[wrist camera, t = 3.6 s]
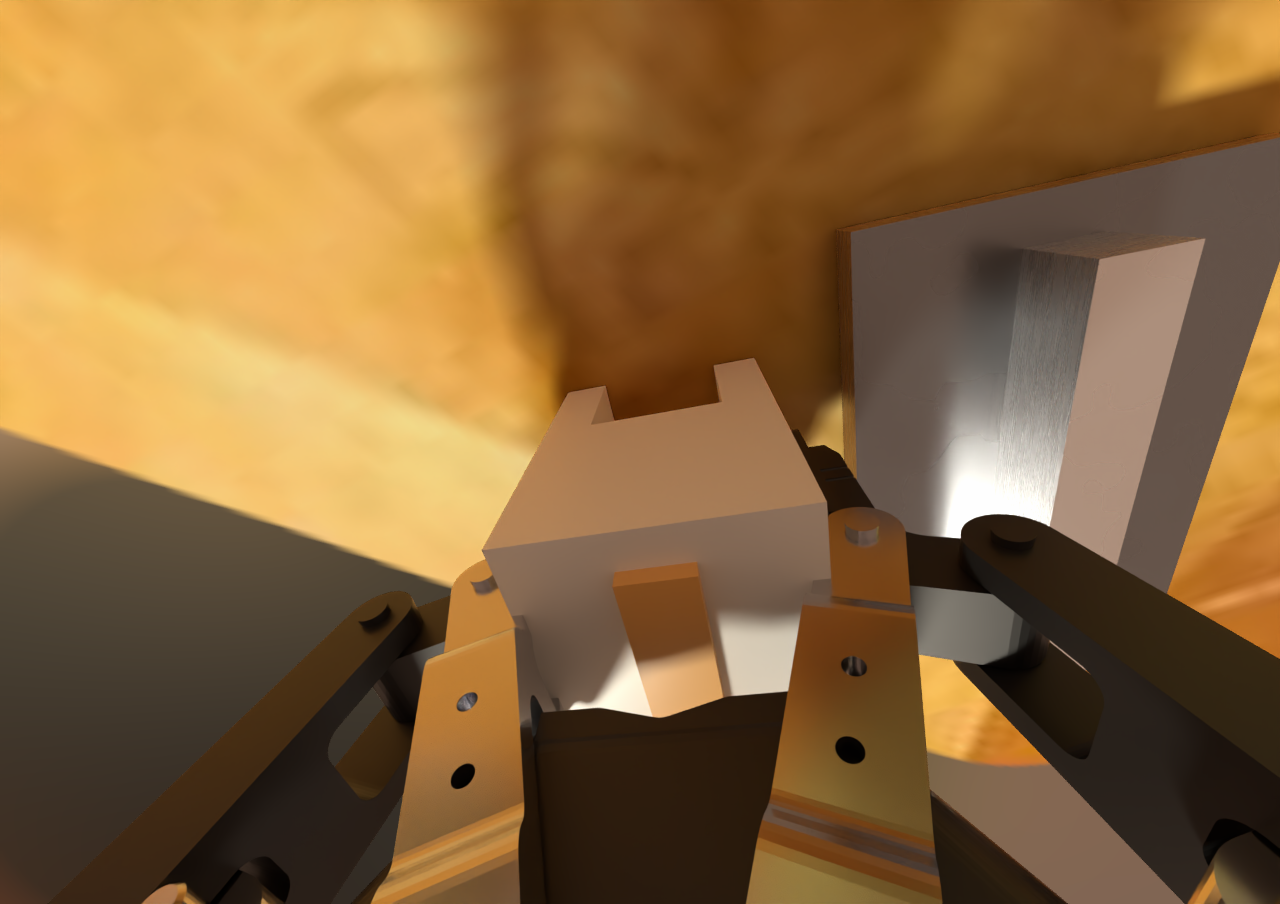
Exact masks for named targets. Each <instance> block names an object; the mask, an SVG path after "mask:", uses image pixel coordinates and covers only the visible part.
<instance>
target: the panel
mask: <svg viewBox="0 0 1280 904" xmlns="http://www.w3.org/2000/svg"><path fill="white" fill-rule="evenodd" d="M836 242H837V270H838V298H839V325H840V353H841V381H842V408H843V436H844V461H845V463H846V464H847V467H848V468H849V469H850V471H851V472H852V474H853V475H854V478H856V480H857V481H858V483H859V484H860V486H861V487H862V489H863V490H864V492H865V494H866V495H867V497H868V498H869V500H870V501H871V503H872V504H873V506H874V507H875V509H879V510H882V511H885V512H887V513H889V514H891V515H893V516H895V517H896V518H897V519H899V520H900V522H901V523H902V524H903V526H904V527H905V531H906V532H910V533H914V534H919V535H926V536H937V537H951V538H960V534H961V529H962V527H963V525H964V524H965V523H966V522H968V521H969V520H971V519H973V518H976V517H979V516H983V515H989V514H1009V515H1017V516H1022V517H1027V518H1030V519H1033V520H1036V521H1039V522H1041V523H1044V524H1046V525H1048V526H1050V527H1052V528H1053V529H1055V530H1057V531H1058V532H1060V533H1062V534H1064V535H1065V536H1067V537H1069V538H1071V539H1072V540H1074V541H1076V542H1078V543H1079V544H1081V545H1083V546H1084V547H1086V548H1088V549H1090V550H1091V551H1093V552H1095V553H1097V554H1098V555H1100V556H1102V557H1104V558H1105V559H1107V560H1109V561H1110V562H1112V563H1114V564H1116V565H1117V566H1119V567H1121V568H1123V569H1124V570H1126V571H1128V572H1130V573H1131V574H1133V575H1135V576H1136V577H1138V578H1140V579H1142V580H1143V581H1145V582H1147V583H1149V584H1150V585H1152V586H1154V587H1156V588H1157V589H1159V590H1161V591H1162V592H1164V593H1166V594H1167V591H1168V588H1169V585H1170V582H1171V580H1172V577H1173V574H1174V571H1175V568H1176V565H1177V562H1178V559H1179V556H1180V553H1181V550H1182V547H1183V544H1184V541H1185V538H1186V535H1187V532H1188V529H1189V527H1190V524H1191V521H1192V518H1193V515H1194V512H1195V509H1196V506H1197V503H1198V500H1199V497H1200V494H1201V491H1202V488H1203V485H1204V482H1205V479H1206V476H1207V474H1208V471H1209V468H1210V465H1211V462H1212V459H1213V456H1214V453H1215V450H1216V447H1217V444H1218V441H1219V438H1220V435H1221V432H1222V429H1223V426H1224V424H1225V421H1226V418H1227V415H1228V412H1229V409H1230V406H1231V403H1232V400H1233V397H1234V394H1235V391H1236V388H1237V385H1238V382H1239V379H1240V376H1241V373H1242V371H1243V368H1244V365H1245V362H1246V359H1247V356H1248V353H1249V350H1250V347H1251V344H1252V341H1253V338H1254V335H1255V332H1256V329H1257V326H1258V323H1259V321H1260V318H1261V315H1262V312H1263V309H1264V306H1265V303H1266V300H1267V297H1268V294H1269V291H1270V288H1271V285H1272V282H1273V279H1274V276H1275V273H1276V270H1277V268H1278V265H1279V262H1280V133H1271V134H1263V135H1258V136H1254V137H1249V138H1245V139H1240V140H1236V141H1231V142H1227V143H1222V144H1218V145H1213V146H1209V147H1205V148H1200V149H1196V150H1191V151H1187V152H1182V153H1178V154H1173V155H1169V156H1164V157H1160V158H1155V159H1151V160H1146V161H1142V162H1137V163H1133V164H1128V165H1124V166H1119V167H1115V168H1110V169H1106V170H1101V171H1097V172H1092V173H1088V174H1083V175H1079V176H1074V177H1070V178H1065V179H1061V180H1056V181H1052V182H1047V183H1043V184H1038V185H1034V186H1029V187H1025V188H1020V189H1016V190H1011V191H1007V192H1002V193H998V194H993V195H989V196H984V197H980V198H975V199H971V200H966V201H962V202H957V203H953V204H948V205H944V206H939V207H935V208H930V209H926V210H921V211H917V212H912V213H908V214H903V215H899V216H894V217H890V218H886V219H881V220H877V221H872V222H868V223H863V224H859V225H854V226H850V227H845V228H841V229H836ZM1050 642H1051V641H1050ZM1051 643H1052V644H1053V645H1054V646H1056V645H1055V644H1054V643H1053V642H1051ZM1056 647H1057V648H1058V649H1059V650H1061V649H1060V648H1059V647H1058V646H1056ZM1061 651H1062V652H1063V653H1064V654H1066V653H1065V652H1064V651H1063V650H1061ZM1066 655H1067V656H1068V657H1069V658H1071V657H1070V656H1069V655H1068V654H1066ZM1071 659H1072V660H1073V661H1074V662H1076V661H1075V660H1074V659H1073V658H1071ZM1076 663H1077V664H1078V665H1079V666H1081V665H1080V664H1079V663H1078V662H1076ZM1081 667H1082V668H1083V669H1084V670H1086V669H1085V668H1084V667H1083V666H1081Z"/></svg>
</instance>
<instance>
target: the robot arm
mask: <svg viewBox="0 0 1280 904" xmlns="http://www.w3.org/2000/svg"><path fill="white" fill-rule="evenodd" d="M791 432H792V434H793V436H794V438H795V440H796V442H797V444H798V446H799V447H800V449H801V451H802V453H803V455H804V457H805V459H806V461H807V463H808V465H809V467H810V469H811V471H812V473H813V475H814V477H815V479H816V481H817V483H818V485H819V487H820V489H821V491H822V493H823V495H824V497H825V499H826V501H827V511H828V529H829V548H830V566H831V579H822V580H814V581H813V584H812V591H811V593H805V595H804V599H803V604H802V610H801V616H800V622H799V628H798V634H797V640H796V646H795V652H794V658H793V664H792V670H791V676H790V682H789V688H788V691H784V692H773V693H761V694H750V695H738V696H727V697H724V698H721V699H718V700H715V701H712V702H709V703H706V704H703V705H700V706H697V707H694V708H691V709H688V710H685V711H682V712H679V713H676V714H673V715H670V716H666V717H660V718H658V717H651V716H645V715H639V714H634V713H628V712H622V711H617V710H611V709H605V708H600V707H599V708H587V709H576V710H564V709H563V707H562V704H561V702H560V700H559V698H550V695H549V693H548V691H547V689H546V686H545V684H544V682H543V680H542V677H541V675H540V673H539V670H538V667H537V663H536V660H535V656H534V651H533V643H532V635H531V633H530V630H529V628H528V626H527V623H526V621H525V619H524V616H523V615H518V616H511V615H510V612H509V610H508V608H507V606H506V603H505V601H504V599H503V597H502V594H501V592H500V590H499V588H498V585H497V583H496V581H495V579H494V576H493V574H492V572H491V570H490V567H489V565H488V563H487V561H486V559H485V560H483V561H480V562H478V563H476V564H474V565H473V566H471V567H469V568H468V569H467V570H465V571H464V572H463V573H462V574H461V575H460V576H459V577H458V578H457V579H456V581H455V582H454V584H453V586H452V590H451V595H450V596H448V597H445V598H442V599H440V600H437V601H434V602H431V603H428V604H425V605H423V606H420V607H416V605H415V603H414V601H413V599H412V598H411V596H410V595H409V594H408V593H406V592H402V591H394V592H389V593H385V594H382V595H379V596H377V597H375V598H373V599H371V600H369V601H367V602H366V603H364V604H362V605H361V606H360V607H358V608H357V609H356V610H355V611H353V612H352V613H351V614H350V615H349V616H348V617H347V618H346V619H345V620H344V621H343V622H342V623H341V624H339V626H337V627H336V628H335V629H334V630H333V631H332V632H331V633H330V634H329V635H328V636H327V637H326V638H325V639H324V640H323V641H322V642H321V643H320V644H319V645H318V646H317V647H316V648H315V649H313V650H312V651H311V652H310V653H309V654H308V655H307V656H306V657H305V658H304V659H303V660H302V661H301V662H300V663H299V664H298V665H297V666H296V667H295V668H294V669H293V670H291V672H289V673H288V675H286V676H285V677H284V678H283V679H282V680H281V681H280V682H279V683H278V684H277V685H276V686H275V687H274V688H273V689H272V690H271V691H270V692H268V693H267V694H266V695H265V697H263V699H261V700H260V701H259V702H258V703H257V704H256V705H255V706H254V707H253V708H252V709H251V710H250V711H249V712H248V713H247V714H245V715H244V716H243V717H242V718H241V719H240V720H239V721H238V722H237V723H236V724H235V725H234V726H233V727H232V728H231V729H230V730H229V731H228V732H227V733H226V734H225V735H224V736H222V737H221V738H220V739H219V740H218V741H217V742H216V743H215V744H214V745H213V746H212V747H211V748H210V749H209V750H208V751H207V752H206V753H205V754H204V755H203V756H202V757H201V758H200V759H199V760H198V761H196V762H195V763H194V764H193V765H192V766H191V767H190V768H189V769H188V770H187V771H186V772H185V773H184V774H183V775H182V776H181V777H180V778H179V779H178V780H177V781H176V782H174V783H173V784H172V785H171V786H170V787H169V788H168V789H167V790H166V791H165V792H164V793H163V794H162V795H161V796H160V797H159V798H158V799H157V800H156V801H155V802H154V803H153V804H152V805H150V806H149V808H147V809H146V810H145V811H144V812H143V813H142V814H141V815H140V816H139V817H138V818H137V819H136V820H135V821H134V822H133V823H132V824H131V825H130V826H129V827H128V828H126V829H125V830H124V831H123V832H122V833H121V834H120V835H119V836H118V837H117V838H116V839H115V840H114V841H113V842H112V843H111V844H110V845H109V846H108V847H107V848H105V849H104V850H103V851H102V852H101V853H100V854H99V855H98V856H97V857H96V858H95V859H94V860H93V861H92V862H91V863H90V864H89V865H88V866H87V867H86V868H85V869H84V870H82V871H81V872H80V873H79V874H78V875H77V876H76V877H75V878H74V879H73V880H72V881H71V882H70V883H69V884H68V885H67V886H66V887H65V888H64V889H63V890H62V891H61V892H60V893H59V894H57V895H56V896H55V897H54V898H53V899H52V900H51V901H50V902H49V903H48V904H331V902H332V901H333V899H334V897H335V896H336V895H337V893H338V892H339V890H340V889H341V887H342V886H343V884H344V882H345V881H346V879H347V878H348V876H349V875H350V873H351V872H352V870H353V869H354V867H355V866H356V864H357V863H358V861H359V860H360V858H361V857H362V855H363V854H364V852H365V851H366V849H367V848H368V846H369V845H370V843H371V842H372V840H373V838H374V837H375V836H376V834H377V833H378V831H379V830H380V828H381V827H382V825H383V824H384V822H385V821H386V819H387V818H388V816H389V814H390V813H391V811H392V810H393V808H394V807H395V805H396V804H397V802H398V801H399V799H400V798H401V796H402V795H403V800H402V807H401V813H400V819H399V825H398V831H397V838H396V843H395V849H394V855H393V860H392V861H391V862H390V863H389V864H388V865H387V866H386V867H385V868H384V869H383V870H382V871H381V872H380V873H379V874H378V876H377V877H376V878H375V879H374V880H373V881H372V882H371V883H370V884H369V885H368V886H367V887H366V888H365V889H364V890H363V891H362V892H361V893H360V894H359V896H358V897H357V898H356V899H355V900H354V901H353V902H352V903H351V904H1068V903H1066V902H1065V901H1064V900H1063V899H1062V898H1060V897H1059V896H1058V895H1057V894H1056V893H1054V892H1053V891H1052V890H1051V889H1050V888H1048V887H1047V886H1046V885H1045V884H1044V883H1042V882H1041V881H1040V880H1039V879H1038V878H1036V877H1035V876H1034V875H1033V874H1032V873H1030V872H1029V871H1028V870H1027V869H1026V868H1024V867H1023V866H1022V865H1021V864H1019V863H1018V862H1017V861H1016V860H1015V859H1013V858H1012V857H1011V856H1010V855H1009V854H1007V853H1006V852H1005V851H1004V850H1003V849H1001V848H1000V847H999V846H998V845H997V844H995V843H994V842H993V841H992V840H991V839H989V838H988V837H987V836H986V835H985V834H983V833H982V832H981V831H980V830H978V829H977V828H976V827H975V826H974V825H972V824H971V823H970V822H969V821H968V820H966V819H965V818H964V817H963V816H962V815H960V814H959V813H958V812H957V811H956V810H954V809H953V808H952V807H951V806H950V805H948V804H947V803H946V802H945V801H943V800H942V799H941V798H940V797H939V796H938V795H936V794H935V793H934V792H933V791H931V790H930V787H929V775H928V764H927V751H926V738H925V726H924V714H923V702H922V690H921V677H920V665H919V655H925V656H932V657H938V658H944V659H950V660H953V661H954V663H955V664H956V666H957V667H958V668H959V669H960V670H961V671H962V672H963V674H964V675H965V676H966V677H967V678H968V679H969V680H970V681H971V682H972V683H973V684H974V685H975V686H976V687H977V688H978V689H979V690H980V691H981V692H982V693H983V694H984V695H985V696H986V697H987V699H988V700H989V701H990V702H991V703H992V704H993V705H994V706H995V707H996V708H997V709H998V710H999V711H1000V712H1001V713H1002V714H1003V715H1004V716H1005V717H1006V718H1007V719H1008V720H1009V721H1010V722H1011V723H1012V725H1013V726H1014V727H1015V728H1016V729H1017V730H1018V731H1019V732H1020V733H1021V734H1022V735H1023V736H1024V737H1025V738H1026V739H1027V740H1028V741H1029V742H1030V743H1031V744H1032V745H1033V746H1034V747H1035V748H1036V750H1037V751H1038V752H1039V753H1040V754H1041V755H1042V756H1043V757H1044V758H1045V759H1046V760H1047V761H1048V762H1049V763H1050V764H1051V765H1052V766H1053V767H1054V768H1055V769H1056V770H1057V771H1058V772H1059V773H1060V775H1062V776H1063V778H1064V779H1065V780H1067V782H1068V783H1069V784H1070V785H1071V786H1072V787H1073V788H1074V789H1075V790H1076V791H1077V792H1078V793H1079V794H1080V795H1081V796H1082V797H1083V798H1084V799H1085V800H1086V801H1087V803H1089V805H1090V806H1091V807H1092V808H1093V809H1094V810H1095V811H1096V812H1097V813H1098V814H1099V815H1100V816H1101V817H1102V818H1103V819H1104V820H1105V821H1106V822H1107V823H1108V824H1109V826H1111V828H1112V829H1113V830H1114V831H1115V832H1116V833H1117V834H1118V835H1119V836H1120V837H1121V838H1122V839H1123V840H1124V841H1125V842H1126V843H1127V844H1128V845H1129V846H1130V847H1131V848H1132V849H1133V850H1134V852H1135V853H1136V854H1137V855H1138V856H1139V857H1141V859H1142V860H1143V861H1144V862H1145V863H1146V864H1147V865H1148V866H1149V867H1150V868H1151V869H1152V870H1153V871H1154V872H1155V873H1156V874H1157V875H1158V877H1160V879H1161V880H1162V881H1163V882H1164V883H1165V884H1166V885H1167V886H1168V887H1169V888H1170V889H1171V890H1172V891H1173V892H1174V893H1175V894H1176V895H1177V896H1178V897H1179V898H1180V899H1181V900H1182V901H1183V903H1184V904H1280V659H1279V658H1277V657H1275V656H1273V655H1272V654H1270V653H1268V652H1267V651H1265V650H1263V649H1261V648H1260V647H1258V646H1256V645H1254V644H1253V643H1251V642H1249V641H1247V640H1246V639H1244V638H1242V637H1241V636H1239V635H1237V634H1235V633H1234V632H1232V631H1230V630H1228V629H1227V628H1225V627H1223V626H1221V625H1220V624H1218V623H1216V622H1215V621H1213V620H1211V619H1209V618H1208V617H1206V616H1204V615H1202V614H1201V613H1199V612H1197V611H1195V610H1194V609H1192V608H1190V607H1189V606H1187V605H1185V604H1183V603H1182V602H1180V601H1178V600H1176V599H1175V598H1173V597H1171V596H1169V595H1168V594H1166V593H1164V592H1162V591H1161V590H1159V589H1157V588H1156V587H1154V586H1152V585H1150V584H1149V583H1147V582H1145V581H1143V580H1142V579H1140V578H1138V577H1136V576H1135V575H1133V574H1131V573H1130V572H1128V571H1126V570H1124V569H1123V568H1121V567H1119V566H1117V565H1116V564H1114V563H1112V562H1110V561H1109V560H1107V559H1105V558H1104V557H1102V556H1100V555H1098V554H1097V553H1095V552H1093V551H1091V550H1090V549H1088V548H1086V547H1084V546H1083V545H1081V544H1079V543H1078V542H1076V541H1074V540H1072V539H1071V538H1069V537H1067V536H1065V535H1064V534H1062V533H1060V532H1058V531H1057V530H1055V529H1053V528H1052V527H1050V526H1048V525H1046V524H1044V523H1041V522H1039V521H1036V520H1033V519H1030V518H1027V517H1022V516H1017V515H1009V514H989V515H983V516H979V517H976V518H973V519H971V520H969V521H968V522H966V523H965V524H964V525H963V527H962V529H961V534H960V538H951V537H937V536H926V535H919V534H914V533H910V532H906V531H905V527H904V526H903V524H902V523H901V522H900V520H899V519H897V518H896V517H895V516H893V515H891V514H889V513H887V512H885V511H882V510H879V509H875V507H874V506H873V504H872V503H871V501H870V500H869V498H868V497H867V495H866V494H865V492H864V490H863V489H862V487H861V486H860V484H859V483H858V481H857V480H856V478H854V475H853V474H852V472H851V471H850V469H849V468H848V467H847V464H846V463H845V461H844V460H843V458H842V457H841V455H840V454H839V453H837V452H836V451H834V450H832V449H830V448H828V447H827V446H825V445H821V446H815V447H809V448H808V447H807V445H806V443H805V441H804V439H803V437H802V435H801V434H800V432H799V430H798V429H796V430H791ZM1050 641H1051V642H1053V643H1054V644H1055V645H1056V646H1058V647H1059V648H1060V649H1061V650H1063V651H1064V652H1065V653H1066V654H1068V655H1069V656H1070V657H1071V658H1073V659H1074V660H1075V661H1076V662H1078V663H1079V664H1080V665H1081V666H1083V667H1084V668H1085V669H1086V670H1087V671H1088V672H1089V673H1090V674H1091V675H1090V674H1089V673H1088V672H1087V671H1086V670H1084V669H1083V668H1082V667H1081V666H1079V665H1078V664H1077V663H1076V662H1074V661H1073V660H1072V659H1071V658H1069V657H1068V656H1067V655H1066V654H1064V653H1063V652H1062V651H1061V650H1059V649H1058V648H1057V647H1056V646H1054V645H1053V644H1052V643H1051V642H1050ZM372 687H373V689H374V690H375V691H376V693H377V694H378V696H379V697H380V699H381V700H382V702H383V703H384V705H385V706H384V707H383V708H382V709H381V711H380V712H379V713H378V714H377V715H376V717H375V718H374V719H373V721H372V722H371V723H370V724H369V725H368V727H367V728H366V729H365V730H364V732H363V733H362V734H361V735H360V737H359V738H358V739H357V741H356V742H355V743H354V744H353V745H352V747H351V748H350V749H349V750H348V752H347V753H346V754H345V755H344V756H343V758H342V759H341V760H340V761H339V763H338V764H337V765H336V766H335V767H334V766H333V765H332V763H331V762H330V761H329V758H328V746H329V742H330V739H331V737H332V735H333V734H334V732H335V730H336V729H337V728H338V727H339V725H340V724H341V723H342V722H343V721H344V719H345V718H346V717H347V716H348V715H349V714H350V713H351V711H352V710H353V709H354V708H355V707H356V706H357V704H358V703H359V702H360V701H361V700H362V699H363V697H364V696H365V695H366V694H367V693H368V691H369V690H370V689H371V688H372ZM403 793H404V794H403Z"/></svg>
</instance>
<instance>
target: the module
mask: <svg viewBox="0 0 1280 904" xmlns="http://www.w3.org/2000/svg"><path fill="white" fill-rule="evenodd" d="M714 371H715V378H716V384H717V391H718V397H719V403H714V404H708V405H702V406H697V407H691V408H685V409H679V410H674V411H668V412H662V413H657V414H651V415H645V416H639V417H634V418H628V419H622V420H617V421H614V417H613V413H612V409H611V406H610V402H609V398H608V394H607V390H606V386H600V387H595V388H590V389H584V390H579V391H574V392H568V394H567V396H566V398H565V400H564V401H563V403H562V405H561V407H560V409H559V411H558V412H557V414H556V416H555V418H554V420H553V421H552V423H551V425H550V427H549V429H548V431H547V432H546V434H545V436H544V438H543V440H542V442H541V443H540V445H539V447H538V449H537V451H536V452H535V454H534V456H533V458H532V460H531V462H530V463H529V465H528V467H527V469H526V471H525V473H524V474H523V476H522V478H521V480H520V482H519V483H518V485H517V487H516V489H515V491H514V493H513V494H512V496H511V498H510V500H509V502H508V504H507V505H506V507H505V509H504V511H503V513H502V514H501V516H500V518H499V520H498V522H497V524H496V525H495V527H494V529H493V531H492V533H491V535H490V536H489V538H488V540H487V542H486V544H485V545H484V547H483V549H482V552H483V554H484V556H485V558H486V561H487V563H488V565H489V567H490V570H491V572H492V574H493V576H494V579H495V581H496V583H497V585H498V588H499V590H500V592H501V594H502V597H503V599H504V601H505V603H506V606H507V608H508V610H509V612H510V615H511V616H518V615H523V616H524V619H525V621H526V623H527V626H528V628H529V630H530V633H531V635H532V643H533V651H534V656H535V660H536V663H537V667H538V670H539V673H540V675H541V677H542V680H543V682H544V684H545V686H546V689H547V691H548V693H549V695H550V698H559V700H560V702H561V704H562V707H563V709H564V710H576V709H587V708H599V707H600V708H605V709H611V710H617V711H622V712H628V713H634V714H639V715H645V716H651V717H658V718H660V717H666V716H670V715H673V714H676V713H679V712H682V711H685V710H688V709H691V708H694V707H697V706H700V705H703V704H706V703H709V702H712V701H715V700H718V699H721V698H724V697H727V696H738V695H750V694H761V693H773V692H784V691H788V688H789V682H790V676H791V670H792V664H793V658H794V652H795V646H796V640H797V634H798V628H799V622H800V616H801V610H802V604H803V599H804V595H805V593H811V591H812V584H813V581H814V580H822V579H831V566H830V548H829V529H828V511H827V501H826V499H825V497H824V495H823V493H822V491H821V489H820V487H819V485H818V483H817V481H816V479H815V477H814V475H813V473H812V471H811V469H810V467H809V465H808V463H807V461H806V459H805V457H804V455H803V453H802V451H801V449H800V447H799V446H798V444H797V442H796V440H795V438H794V436H793V434H792V432H791V430H790V428H789V426H788V424H787V422H786V420H785V418H784V416H783V414H782V412H781V410H780V408H779V406H778V404H777V402H776V400H775V398H774V396H773V394H772V392H771V390H770V388H769V386H768V384H767V382H766V380H765V378H764V376H763V374H762V372H761V370H760V368H759V367H758V365H757V363H756V361H755V359H754V358H750V359H745V360H739V361H734V362H729V363H723V364H718V365H714Z"/></svg>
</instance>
